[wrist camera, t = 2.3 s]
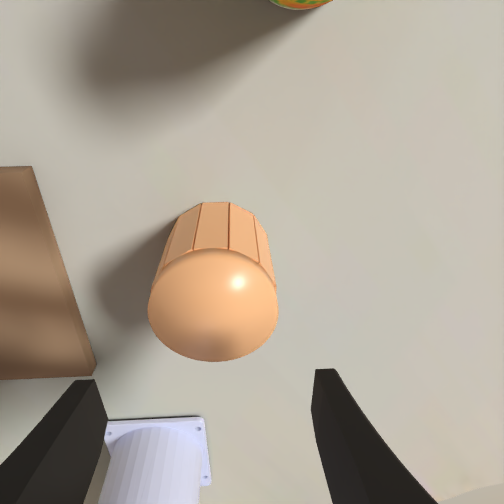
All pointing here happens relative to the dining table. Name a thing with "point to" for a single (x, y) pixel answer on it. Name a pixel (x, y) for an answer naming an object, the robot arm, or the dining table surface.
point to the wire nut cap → (214, 285)
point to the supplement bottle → (300, 3)
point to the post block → (35, 290)
